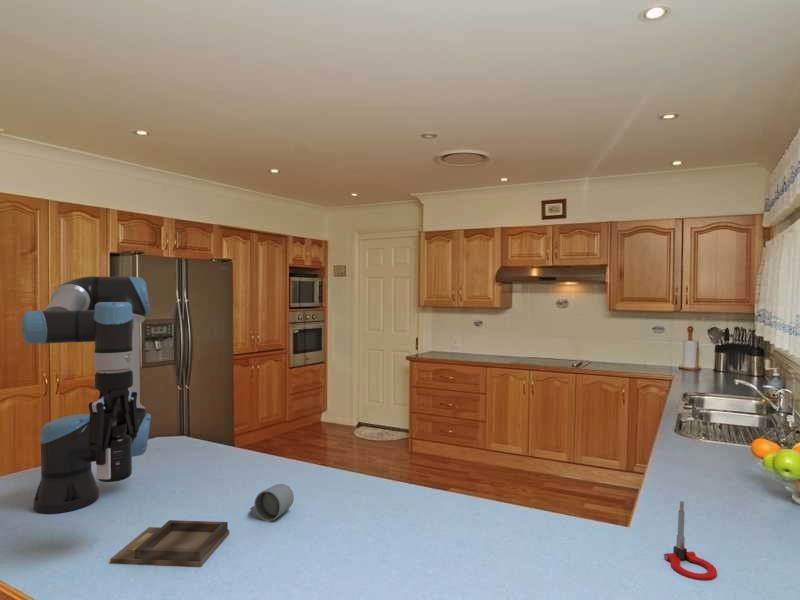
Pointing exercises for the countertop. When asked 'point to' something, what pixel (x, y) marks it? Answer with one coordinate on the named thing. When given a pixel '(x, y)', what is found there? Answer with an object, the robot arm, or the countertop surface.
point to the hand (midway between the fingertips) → (114, 472)
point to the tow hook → (687, 554)
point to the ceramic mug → (273, 502)
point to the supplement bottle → (120, 453)
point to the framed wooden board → (174, 544)
